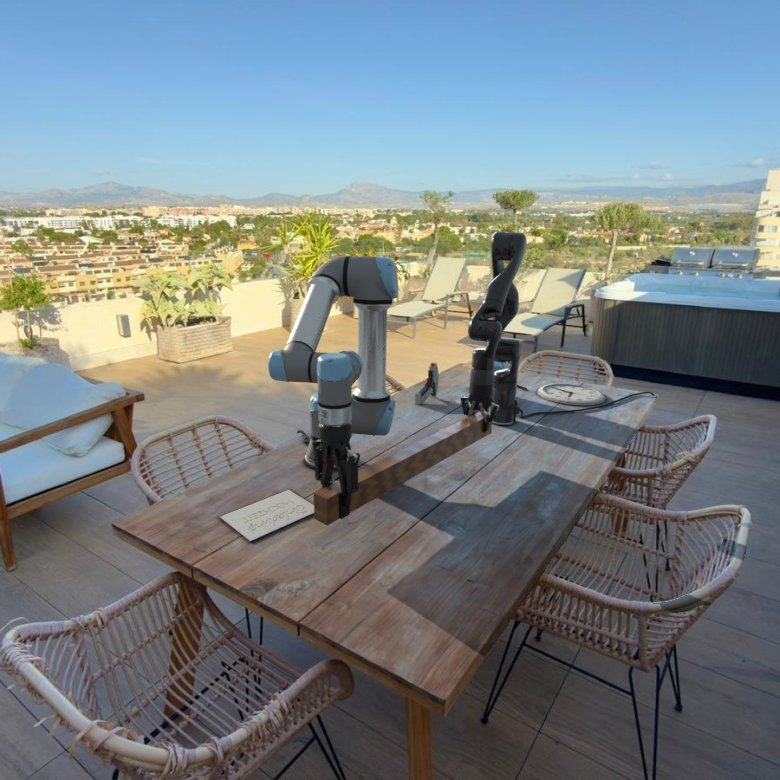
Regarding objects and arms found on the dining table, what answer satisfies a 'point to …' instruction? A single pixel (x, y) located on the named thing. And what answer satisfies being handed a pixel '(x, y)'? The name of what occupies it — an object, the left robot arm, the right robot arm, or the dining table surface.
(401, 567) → the dining table surface
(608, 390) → the dining table surface
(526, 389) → the ruler
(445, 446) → the bar
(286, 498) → the invitation card
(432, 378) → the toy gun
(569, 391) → the wall clock
